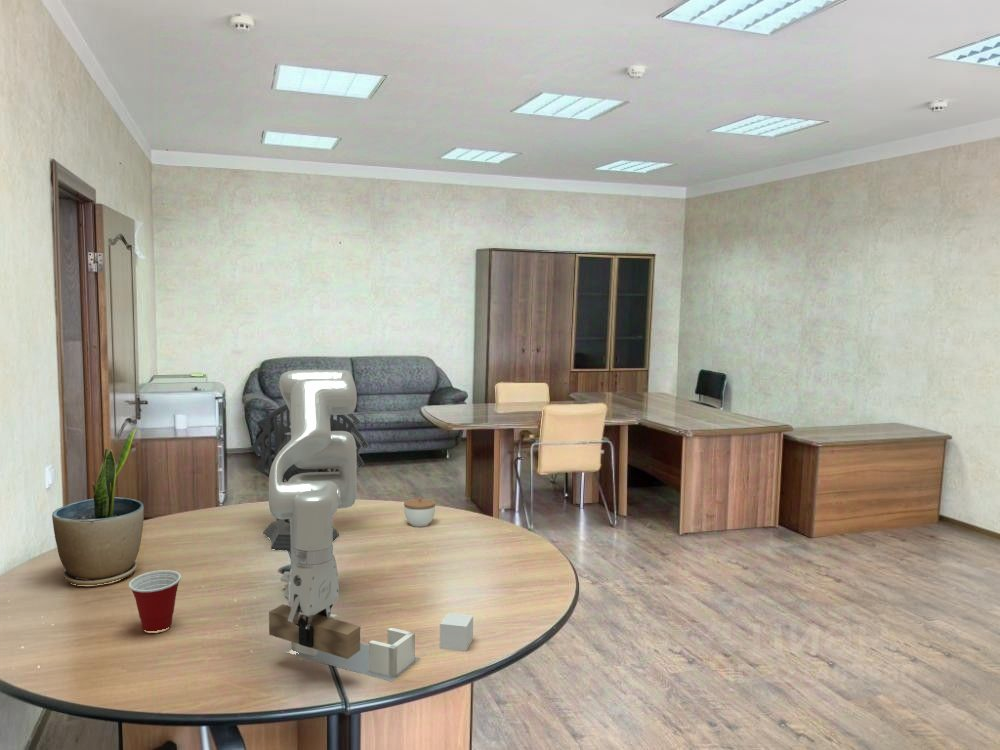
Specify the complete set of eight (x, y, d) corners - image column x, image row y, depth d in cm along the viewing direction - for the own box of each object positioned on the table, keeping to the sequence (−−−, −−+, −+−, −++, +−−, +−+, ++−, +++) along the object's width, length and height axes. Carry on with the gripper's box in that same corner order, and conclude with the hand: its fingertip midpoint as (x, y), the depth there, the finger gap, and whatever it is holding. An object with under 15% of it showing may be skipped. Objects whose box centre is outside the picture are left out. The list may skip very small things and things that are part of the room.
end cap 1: (291, 650, 160) (291, 623, 159) (315, 635, 167) (315, 609, 166) (313, 656, 157) (313, 628, 157) (337, 641, 164) (337, 615, 164)
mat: (285, 654, 158) (285, 652, 158) (318, 634, 168) (318, 632, 168) (391, 683, 147) (391, 681, 147) (420, 659, 157) (420, 658, 157)
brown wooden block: (269, 634, 153) (268, 611, 152) (282, 626, 156) (282, 604, 155) (347, 659, 144) (347, 634, 143) (360, 650, 147) (360, 626, 147)
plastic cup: (119, 637, 165) (117, 585, 164) (148, 617, 176) (147, 568, 175) (164, 641, 164) (163, 588, 163) (191, 621, 174) (190, 571, 173)
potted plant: (99, 597, 188) (94, 441, 184) (36, 585, 195) (29, 434, 191) (162, 569, 208) (158, 428, 204) (102, 560, 215) (98, 423, 211)
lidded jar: (424, 518, 263) (424, 492, 262) (441, 525, 254) (441, 498, 253) (398, 523, 256) (398, 496, 255) (415, 530, 247) (415, 503, 247)
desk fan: (330, 514, 265) (330, 389, 261) (382, 536, 241) (382, 398, 237) (239, 532, 243) (237, 395, 238) (286, 558, 218) (285, 407, 214)
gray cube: (439, 650, 162) (439, 623, 161) (447, 638, 168) (447, 612, 167) (466, 653, 161) (466, 626, 160) (473, 641, 166) (473, 615, 166)
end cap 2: (414, 660, 156) (414, 633, 155) (393, 677, 149) (393, 648, 148) (390, 654, 158) (390, 627, 158) (368, 670, 151) (368, 642, 151)
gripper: (300, 571, 138) (301, 663, 141) (354, 543, 154) (354, 627, 156) (269, 564, 142) (270, 654, 144) (325, 537, 157) (325, 619, 159)
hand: (314, 639), depth 150 cm, fingers closed on brown wooden block, 4 cm apart
